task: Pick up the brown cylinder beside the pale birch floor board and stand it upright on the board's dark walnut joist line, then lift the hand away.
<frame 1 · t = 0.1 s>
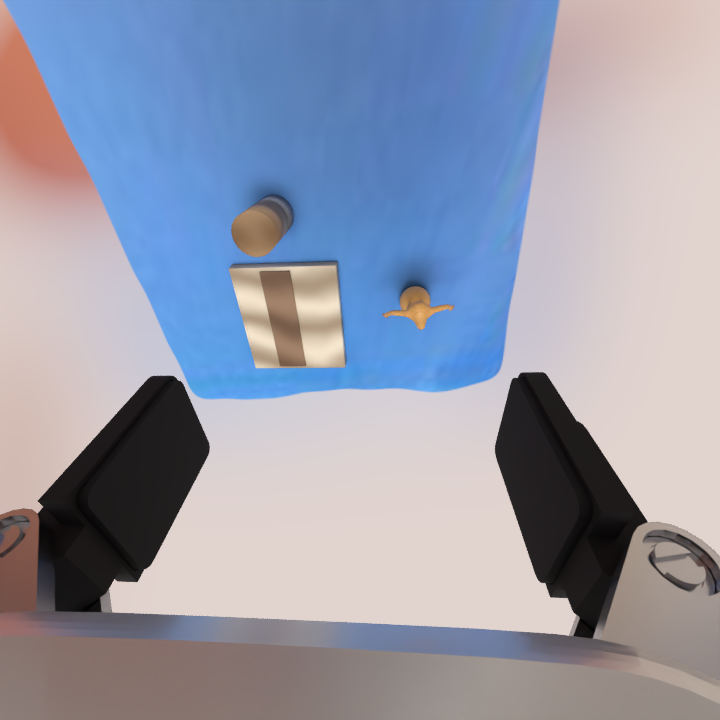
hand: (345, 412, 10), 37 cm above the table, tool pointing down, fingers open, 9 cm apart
figurine: (413, 287, 47), on the table
floor board: (294, 317, 50), on the table
brown cylinder: (275, 214, 42), on the table
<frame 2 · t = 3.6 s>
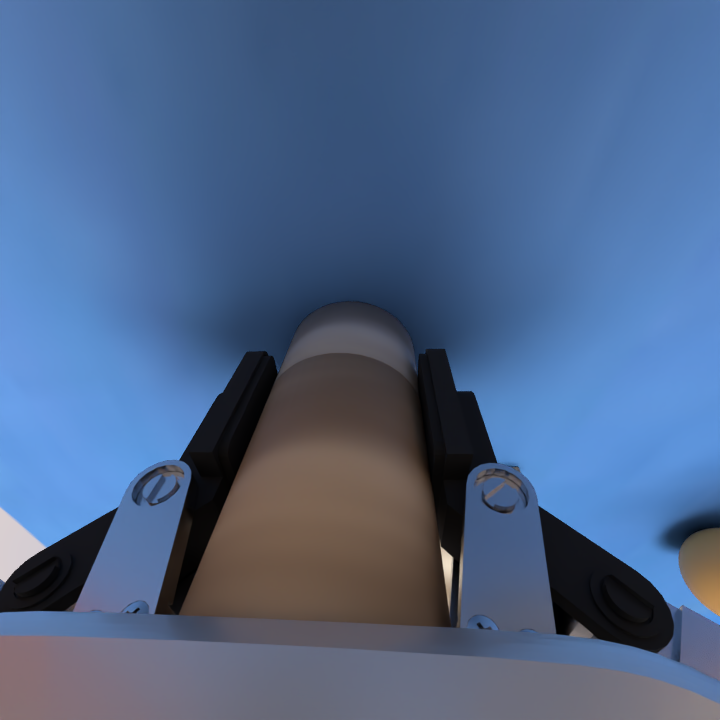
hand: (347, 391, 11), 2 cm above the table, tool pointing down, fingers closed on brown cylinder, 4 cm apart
figurine: (709, 518, 17), on the table
floor board: (367, 553, 20), on the table
brown cylinder: (352, 357, 12), on the table, touching gripper
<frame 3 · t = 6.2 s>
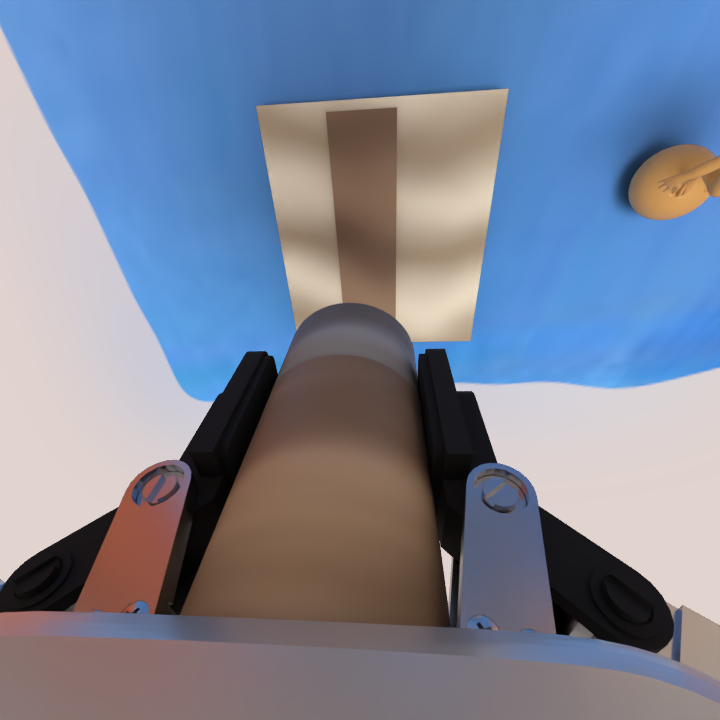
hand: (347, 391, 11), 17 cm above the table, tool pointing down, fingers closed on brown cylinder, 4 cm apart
figurine: (652, 160, 22), on the table
floor board: (381, 237, 25), on the table
brown cylinder: (352, 358, 12), point 15 cm above the table, touching gripper
when the fingers open (4 cm above the table, at t = 9.3 s): brown cylinder stays where it is, resting on floor board.
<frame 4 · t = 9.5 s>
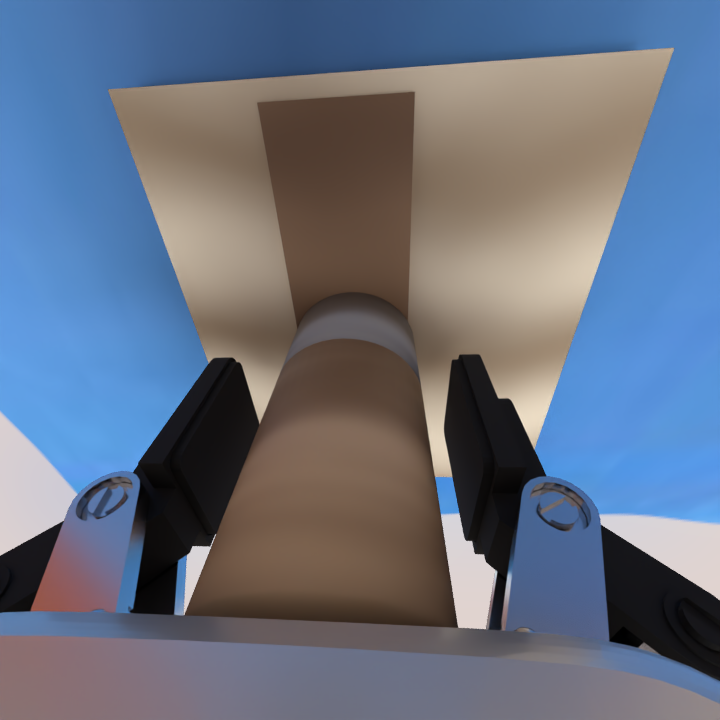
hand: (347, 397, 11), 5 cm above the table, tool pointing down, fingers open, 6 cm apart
floor board: (380, 324, 14), on the table
brown cylinder: (354, 347, 13), point 2 cm above the table, touching floor board
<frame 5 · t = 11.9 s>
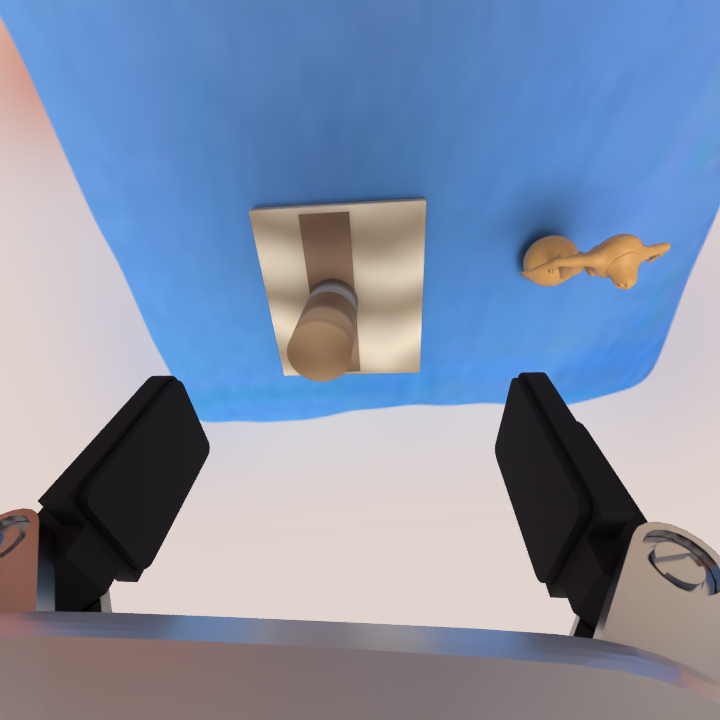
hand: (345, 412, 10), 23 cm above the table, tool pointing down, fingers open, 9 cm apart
figurine: (540, 241, 29), on the table
floor board: (345, 295, 32), on the table
brown cylinder: (333, 302, 31), point 2 cm above the table, touching floor board
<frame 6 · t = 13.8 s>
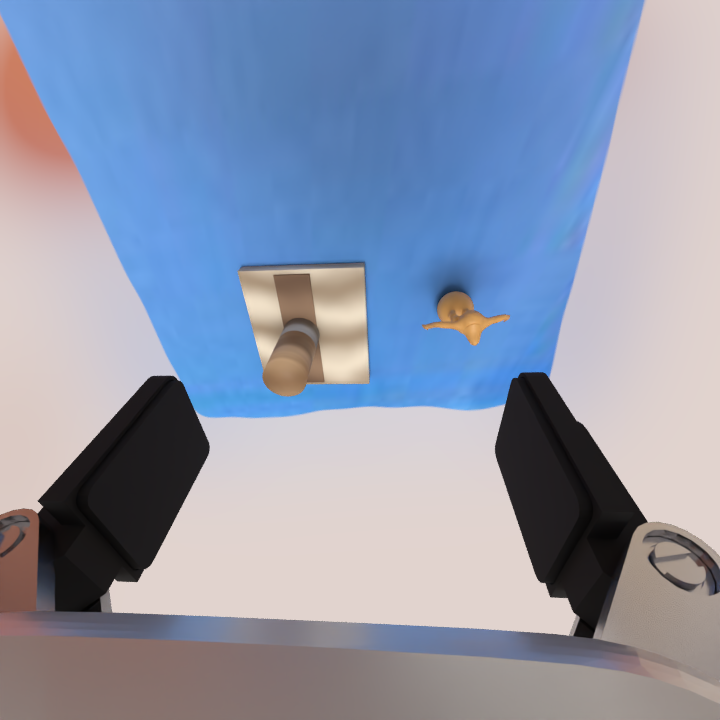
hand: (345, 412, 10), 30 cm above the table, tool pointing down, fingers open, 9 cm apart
figurine: (452, 293, 40), on the table
floor board: (311, 326, 43), on the table
brown cylinder: (301, 333, 42), point 2 cm above the table, touching floor board
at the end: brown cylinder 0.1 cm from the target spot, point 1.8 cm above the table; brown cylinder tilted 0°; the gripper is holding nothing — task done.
